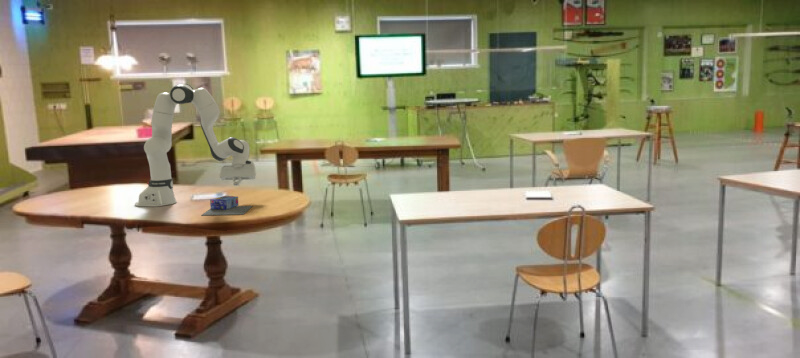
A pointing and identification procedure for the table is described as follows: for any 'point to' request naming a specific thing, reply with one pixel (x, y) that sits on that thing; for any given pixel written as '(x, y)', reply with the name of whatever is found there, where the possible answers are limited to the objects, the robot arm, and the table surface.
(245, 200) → the table surface
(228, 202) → the ink cartridge box
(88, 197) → the table surface
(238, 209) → the mat
